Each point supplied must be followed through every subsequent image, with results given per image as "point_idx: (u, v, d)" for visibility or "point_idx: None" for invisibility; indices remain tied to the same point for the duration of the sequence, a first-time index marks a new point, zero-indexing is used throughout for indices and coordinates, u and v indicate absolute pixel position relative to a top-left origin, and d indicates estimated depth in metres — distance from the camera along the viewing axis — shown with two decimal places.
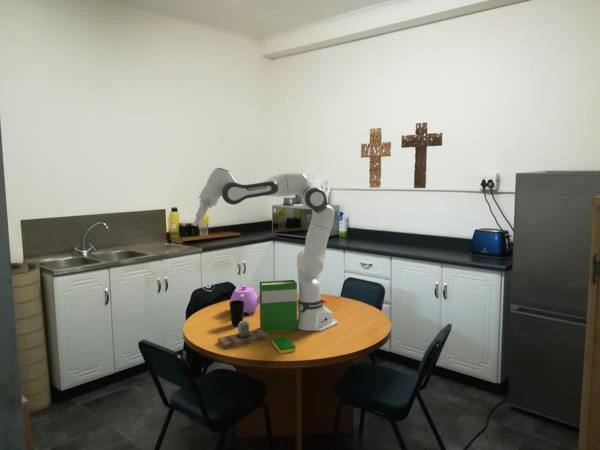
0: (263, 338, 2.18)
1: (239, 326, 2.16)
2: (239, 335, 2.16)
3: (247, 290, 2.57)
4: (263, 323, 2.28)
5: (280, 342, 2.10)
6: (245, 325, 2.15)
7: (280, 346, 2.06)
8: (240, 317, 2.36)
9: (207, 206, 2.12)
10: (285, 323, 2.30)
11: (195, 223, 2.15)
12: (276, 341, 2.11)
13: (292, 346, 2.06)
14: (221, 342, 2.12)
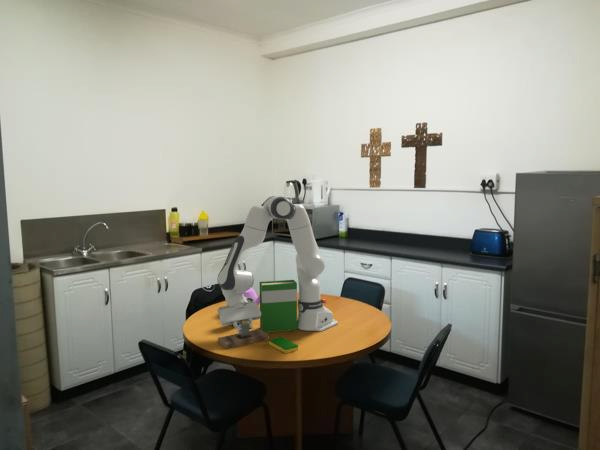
0: (263, 338, 2.18)
1: (240, 325, 2.16)
2: (239, 335, 2.16)
3: (247, 290, 2.57)
4: (263, 323, 2.28)
5: (280, 342, 2.10)
6: (246, 325, 2.15)
7: (283, 346, 2.06)
8: None
9: (220, 311, 2.16)
10: (285, 323, 2.30)
11: (237, 329, 2.15)
12: (275, 342, 2.10)
13: (295, 345, 2.07)
14: (221, 342, 2.12)
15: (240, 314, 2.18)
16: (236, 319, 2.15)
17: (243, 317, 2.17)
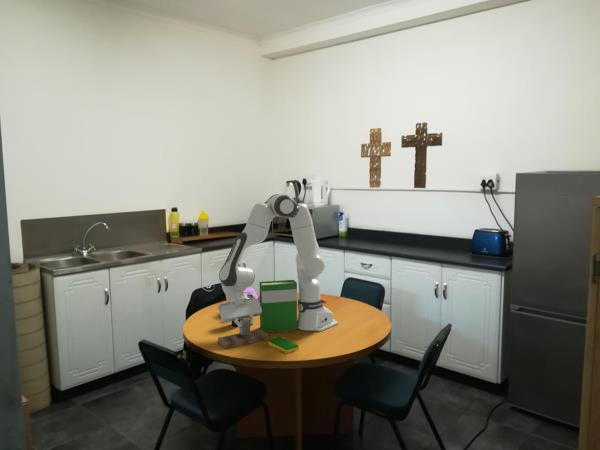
0: (263, 338, 2.18)
1: (241, 322, 2.16)
2: (240, 331, 2.16)
3: (247, 290, 2.57)
4: (263, 323, 2.28)
5: (280, 342, 2.10)
6: (247, 321, 2.16)
7: (284, 346, 2.06)
8: None
9: (221, 308, 2.16)
10: (285, 323, 2.30)
11: (238, 325, 2.15)
12: (275, 342, 2.10)
13: (295, 344, 2.07)
14: (221, 342, 2.12)
15: (241, 311, 2.18)
16: (237, 316, 2.15)
17: (244, 314, 2.17)
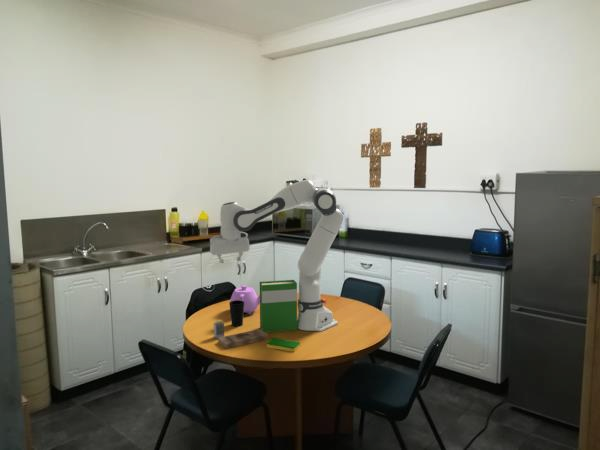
0: (263, 338, 2.18)
1: (214, 326, 2.21)
2: (214, 334, 2.21)
3: (247, 290, 2.57)
4: (263, 323, 2.28)
5: (281, 343, 2.09)
6: (220, 325, 2.20)
7: (289, 345, 2.06)
8: (240, 317, 2.36)
9: (213, 242, 2.24)
10: (285, 323, 2.30)
11: (220, 260, 2.29)
12: (276, 343, 2.09)
13: (297, 342, 2.10)
14: (221, 342, 2.12)
15: (230, 248, 2.29)
16: (225, 253, 2.28)
17: (232, 251, 2.30)
